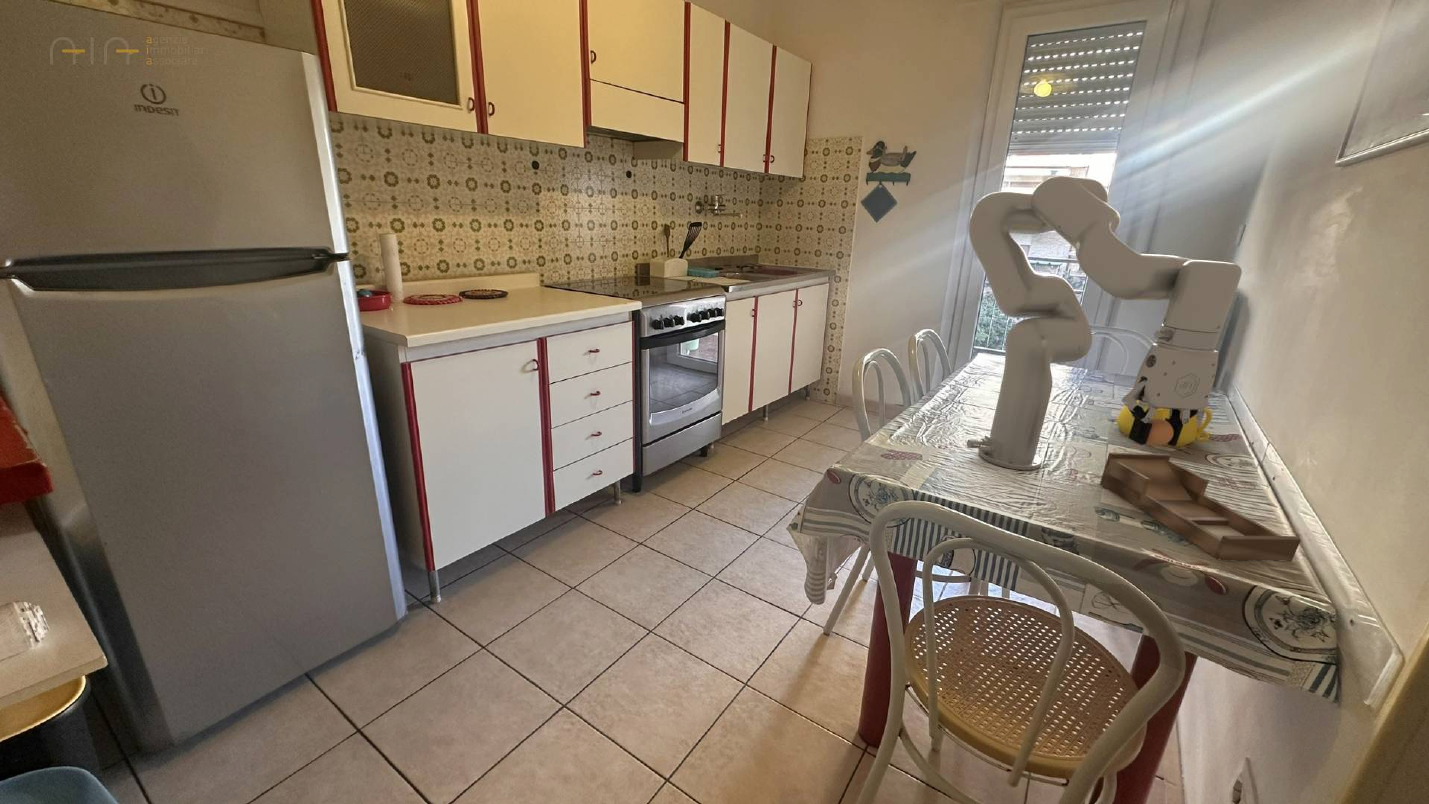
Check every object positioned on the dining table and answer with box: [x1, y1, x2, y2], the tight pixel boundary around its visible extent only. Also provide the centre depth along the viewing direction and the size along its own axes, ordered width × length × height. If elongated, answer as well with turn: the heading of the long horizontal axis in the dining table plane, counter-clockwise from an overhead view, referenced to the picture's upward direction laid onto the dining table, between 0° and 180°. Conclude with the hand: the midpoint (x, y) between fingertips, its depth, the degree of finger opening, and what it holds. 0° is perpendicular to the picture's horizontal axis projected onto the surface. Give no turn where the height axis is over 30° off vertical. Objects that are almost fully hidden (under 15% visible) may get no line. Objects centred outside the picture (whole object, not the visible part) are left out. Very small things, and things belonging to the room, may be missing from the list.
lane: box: [1099, 452, 1302, 561], centre depth 102 cm, size 27×13×7 cm, turn 4°
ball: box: [1145, 418, 1173, 447], centre depth 96 cm, size 5×5×5 cm
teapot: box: [1116, 400, 1213, 448], centre depth 140 cm, size 20×19×13 cm
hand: (1151, 441), depth 97 cm, fingers closed on ball, 4 cm apart
